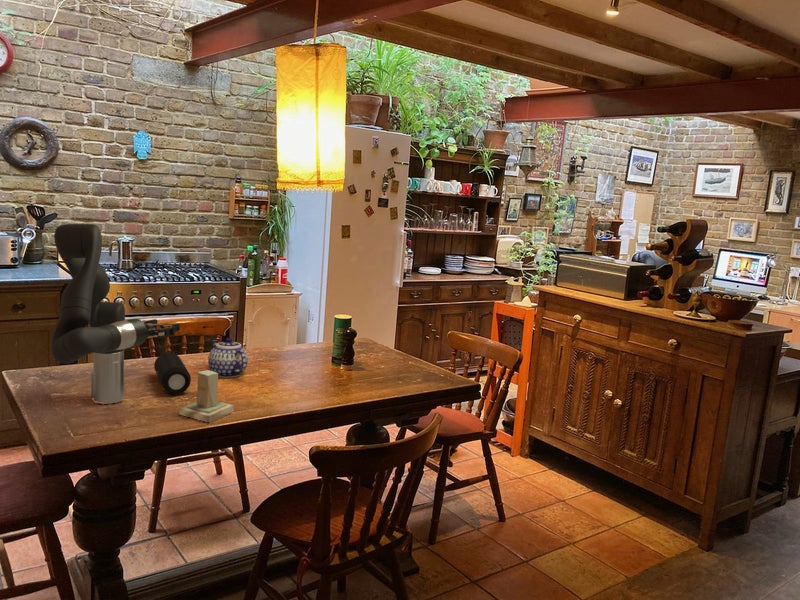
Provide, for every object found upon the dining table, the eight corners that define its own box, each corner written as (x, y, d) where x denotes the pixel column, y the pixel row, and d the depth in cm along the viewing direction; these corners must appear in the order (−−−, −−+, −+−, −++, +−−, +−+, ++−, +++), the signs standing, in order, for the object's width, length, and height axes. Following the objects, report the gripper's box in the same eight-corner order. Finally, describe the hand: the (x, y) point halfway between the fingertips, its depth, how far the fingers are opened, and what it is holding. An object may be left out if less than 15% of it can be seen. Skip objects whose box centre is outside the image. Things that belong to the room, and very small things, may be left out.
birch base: (179, 415, 206) (179, 406, 205) (204, 405, 217) (204, 396, 216) (209, 423, 201) (209, 414, 201) (233, 412, 212) (233, 403, 212)
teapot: (260, 380, 248) (261, 343, 246) (223, 385, 239) (225, 347, 236) (230, 363, 267) (232, 329, 264) (196, 368, 257) (197, 332, 255)
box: (196, 404, 208) (196, 371, 206) (206, 401, 211) (207, 369, 210) (207, 408, 205) (208, 375, 203) (217, 405, 209) (218, 372, 207)
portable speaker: (153, 376, 243) (153, 351, 242) (180, 375, 248) (181, 350, 246) (162, 398, 221) (162, 370, 219) (192, 395, 226) (192, 368, 224)
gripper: (144, 324, 172) (187, 315, 186) (105, 317, 177) (149, 309, 192) (144, 352, 173) (186, 340, 188) (105, 343, 178) (148, 333, 193)
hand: (167, 324), depth 190 cm, fingers open, 8 cm apart
